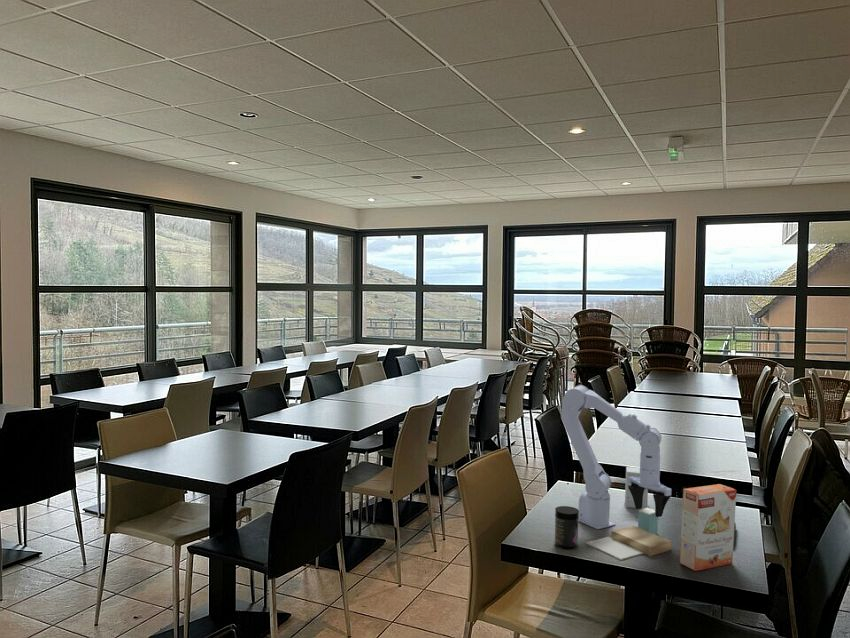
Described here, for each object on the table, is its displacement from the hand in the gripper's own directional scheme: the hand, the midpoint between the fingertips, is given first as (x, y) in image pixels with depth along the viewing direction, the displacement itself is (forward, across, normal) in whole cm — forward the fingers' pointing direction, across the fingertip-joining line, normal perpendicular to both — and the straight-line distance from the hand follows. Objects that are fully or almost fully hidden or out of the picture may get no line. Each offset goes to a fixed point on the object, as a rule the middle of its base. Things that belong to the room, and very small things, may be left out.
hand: (648, 512), depth 192 cm
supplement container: (+6, +5, +29) cm, 30 cm away
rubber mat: (+6, -3, +19) cm, 20 cm away
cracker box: (+7, -23, +4) cm, 24 cm away
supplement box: (+7, +19, -17) cm, 26 cm away
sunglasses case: (+7, -12, -18) cm, 23 cm away
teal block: (+6, 0, 0) cm, 6 cm away
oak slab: (+6, -5, +9) cm, 12 cm away
